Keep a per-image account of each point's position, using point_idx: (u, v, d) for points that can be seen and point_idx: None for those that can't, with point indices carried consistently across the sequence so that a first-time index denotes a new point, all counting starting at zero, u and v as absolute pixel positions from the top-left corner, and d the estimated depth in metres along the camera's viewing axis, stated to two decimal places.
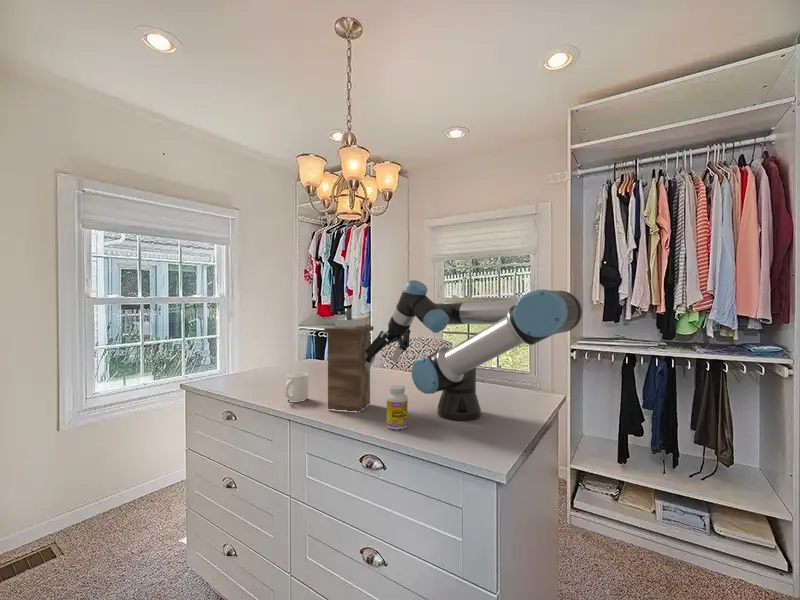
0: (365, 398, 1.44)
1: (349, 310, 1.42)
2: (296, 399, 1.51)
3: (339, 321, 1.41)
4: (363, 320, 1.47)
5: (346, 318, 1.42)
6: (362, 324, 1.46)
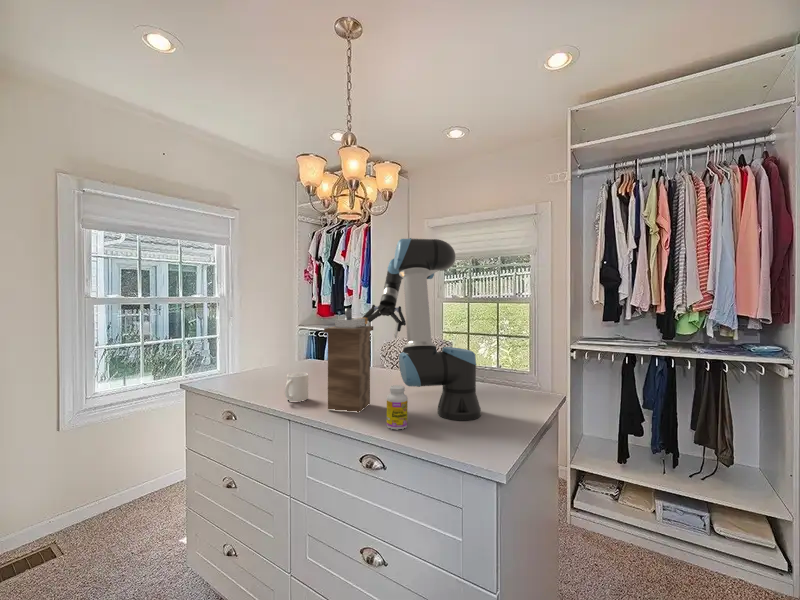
0: (365, 398, 1.44)
1: (349, 310, 1.42)
2: (296, 399, 1.51)
3: (339, 321, 1.41)
4: (363, 320, 1.47)
5: (346, 318, 1.42)
6: (362, 324, 1.46)
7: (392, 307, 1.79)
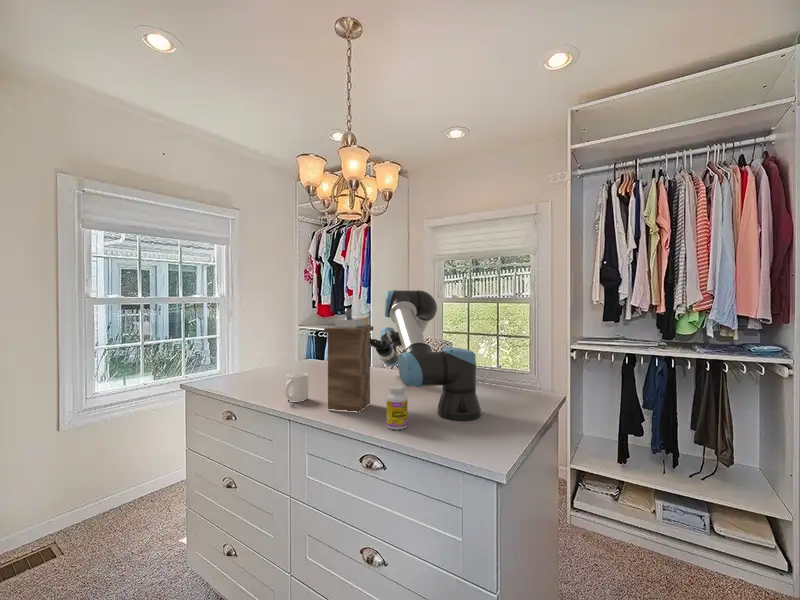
0: (365, 398, 1.44)
1: (349, 310, 1.42)
2: (296, 399, 1.51)
3: (339, 321, 1.41)
4: (363, 320, 1.47)
5: (346, 318, 1.42)
6: (362, 324, 1.46)
7: None
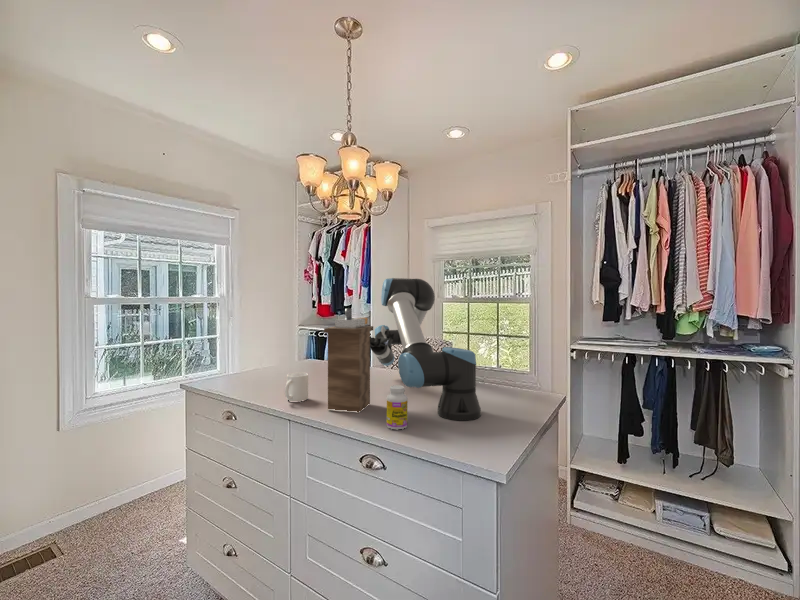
0: (365, 398, 1.44)
1: (349, 310, 1.42)
2: (296, 399, 1.51)
3: (339, 321, 1.41)
4: (363, 320, 1.47)
5: (346, 318, 1.42)
6: (362, 324, 1.46)
7: None
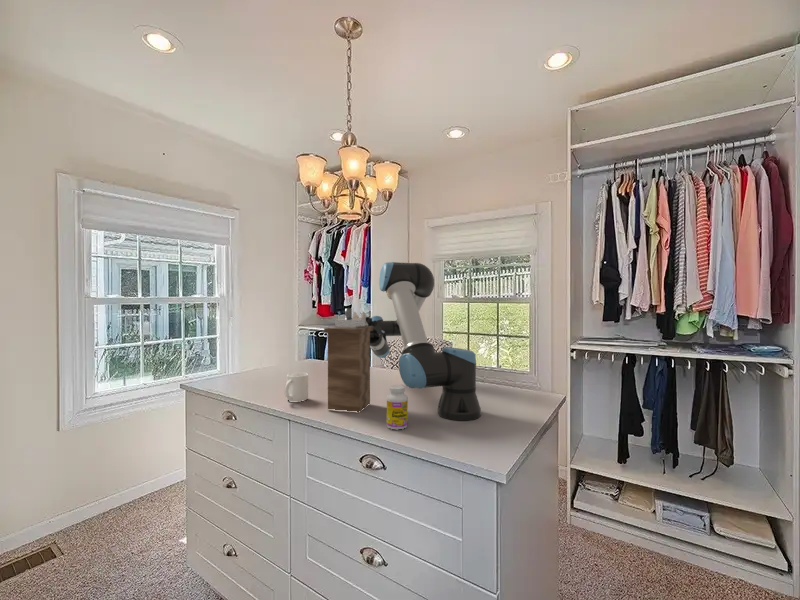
0: (365, 398, 1.44)
1: (349, 310, 1.42)
2: (296, 399, 1.51)
3: (339, 321, 1.41)
4: (363, 320, 1.48)
5: (346, 318, 1.42)
6: (362, 324, 1.46)
7: None
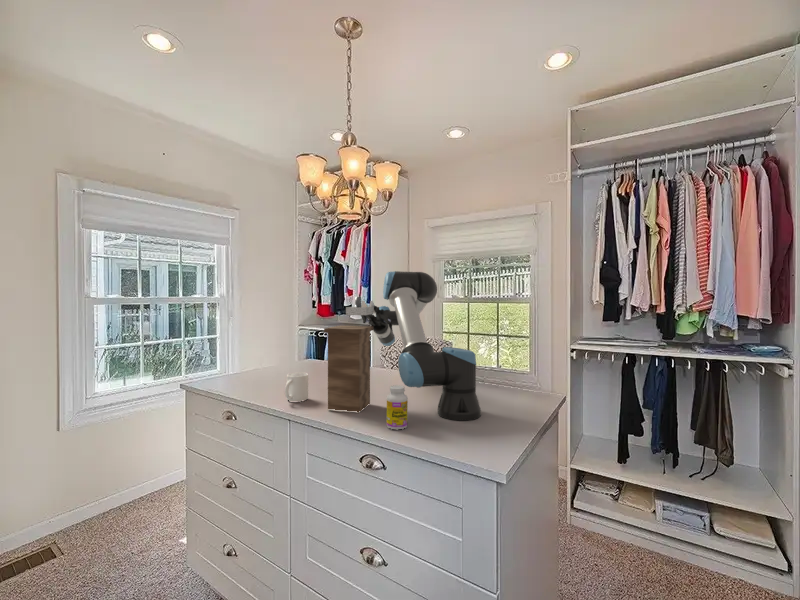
0: (365, 398, 1.44)
1: (359, 298, 1.53)
2: (296, 399, 1.51)
3: (350, 308, 1.52)
4: (371, 308, 1.58)
5: (356, 306, 1.53)
6: (371, 312, 1.57)
7: None
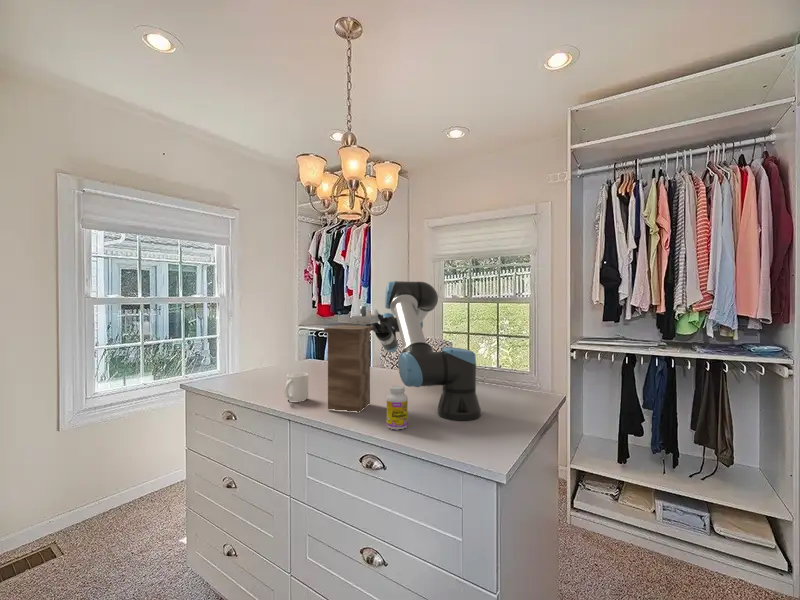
0: (365, 398, 1.44)
1: (364, 307, 1.58)
2: (296, 399, 1.51)
3: (355, 317, 1.57)
4: (376, 317, 1.63)
5: (361, 315, 1.58)
6: (375, 320, 1.62)
7: None
